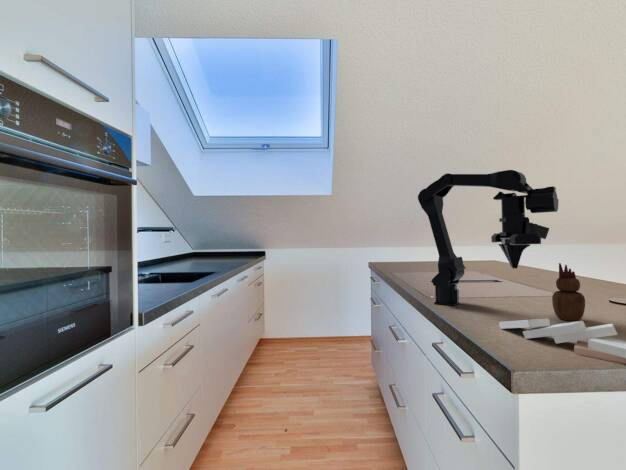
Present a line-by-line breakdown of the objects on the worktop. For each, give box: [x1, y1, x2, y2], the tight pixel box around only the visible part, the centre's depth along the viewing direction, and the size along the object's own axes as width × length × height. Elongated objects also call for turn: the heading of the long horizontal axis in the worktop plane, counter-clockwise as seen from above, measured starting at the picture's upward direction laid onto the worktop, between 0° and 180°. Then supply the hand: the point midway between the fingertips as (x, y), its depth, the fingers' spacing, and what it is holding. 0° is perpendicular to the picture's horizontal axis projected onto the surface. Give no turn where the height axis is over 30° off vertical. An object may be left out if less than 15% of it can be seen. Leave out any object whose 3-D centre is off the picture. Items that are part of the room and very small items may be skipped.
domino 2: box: [522, 320, 587, 340], centre depth 69 cm, size 2×5×10 cm
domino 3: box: [552, 323, 619, 344], centre depth 66 cm, size 2×5×10 cm
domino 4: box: [573, 340, 626, 365], centre depth 61 cm, size 2×5×10 cm
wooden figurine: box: [551, 262, 586, 322], centre depth 86 cm, size 7×6×15 cm
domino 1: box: [498, 318, 551, 330], centre depth 75 cm, size 2×5×10 cm
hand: (514, 268), depth 93 cm, fingers closed
